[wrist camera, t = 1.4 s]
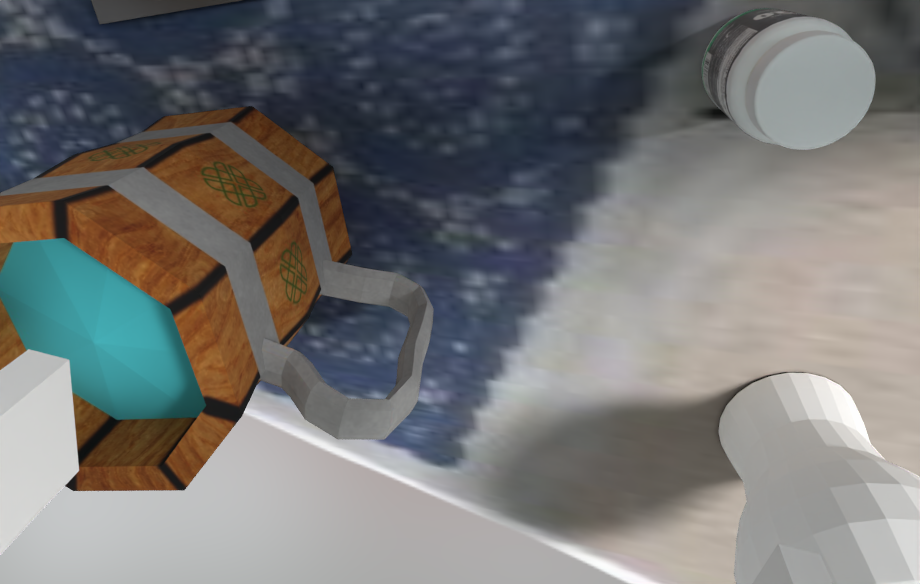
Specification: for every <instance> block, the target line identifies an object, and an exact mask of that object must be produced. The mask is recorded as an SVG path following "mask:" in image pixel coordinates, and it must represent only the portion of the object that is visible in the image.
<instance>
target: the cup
mask: <svg viewBox="0 0 920 584" xmlns="http://www.w3.org/2000/svg"><path fill="white" fill-rule="evenodd" d="M718 432H719V437H720V442H721V445H722V447H723V449H724V451H725V453H726V455H727V457H728V459H729V460H730V462H731V463H732V465H733V467H734V468H735V470H736V472H737V473H738V475H739V476H740V478H741V480H742V481H743V483H744V487H745V494H746V500H747V502H746V505H745V507H744V510H743V512H742V515H741V518H740V521H739V527H738V532H737V538H736V553H735V568H734V576H735V581H736V584H752V583H753V582H754V580H755V579H756V577H757V576H758V574H759V573H760V571H761V569H762V568H763V566H764V565H765V563H766V562H767V560H768V559H769V557H770V556H771V554H772V553H773V551H774V549H775V548H776V546H777V545H778V544H781V545H785V546H789V547H793V548H797V549H800V550H804V551H808V552H812V553H816V554H820V555H821V557H822V559H823V562H824V564H825V566H826V568H827V571H828V573H829V575H830V578H831V580H832V582H833V584H920V476H918V475H916V474H914V473H912V472H910V471H908V470H906V469H904V468H902V467H900V466H898V465H896V464H894V463H891V462H889V461H887V460H885V459H884V458H883V457H882V456H881V454H880V453H879V452H878V451H877V450H876V449H875V448H874V447H873V446H872V445H871V443H870V440H869V437H868V434H867V431H866V428H865V425H864V423H863V420H862V418H861V416H860V414H859V411H858V409H857V407H856V405H855V403H854V401H853V399H852V397H851V395H849V394H848V393H847V392H846V391H845V390H844V389H843V388H842V387H841V386H840V385H839V384H837V383H835V382H833V381H831V380H829V379H827V378H825V377H821V376H817V375H813V374H809V373H784V374H779V375H773V376H769V377H766V378H764V379H761V380H759V381H756V382H754V383H752V384H750V385H749V386H747V387H746V388H744V389H743V390H741V391H740V392H738V393H737V394H736V395H735V396H734V398H733V399H732V400H731V401H730V402H729V403H728V404H727V406H726V408H725V410H724V412H723V414H722V416H721V418H720V424H719V431H718Z"/></svg>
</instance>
